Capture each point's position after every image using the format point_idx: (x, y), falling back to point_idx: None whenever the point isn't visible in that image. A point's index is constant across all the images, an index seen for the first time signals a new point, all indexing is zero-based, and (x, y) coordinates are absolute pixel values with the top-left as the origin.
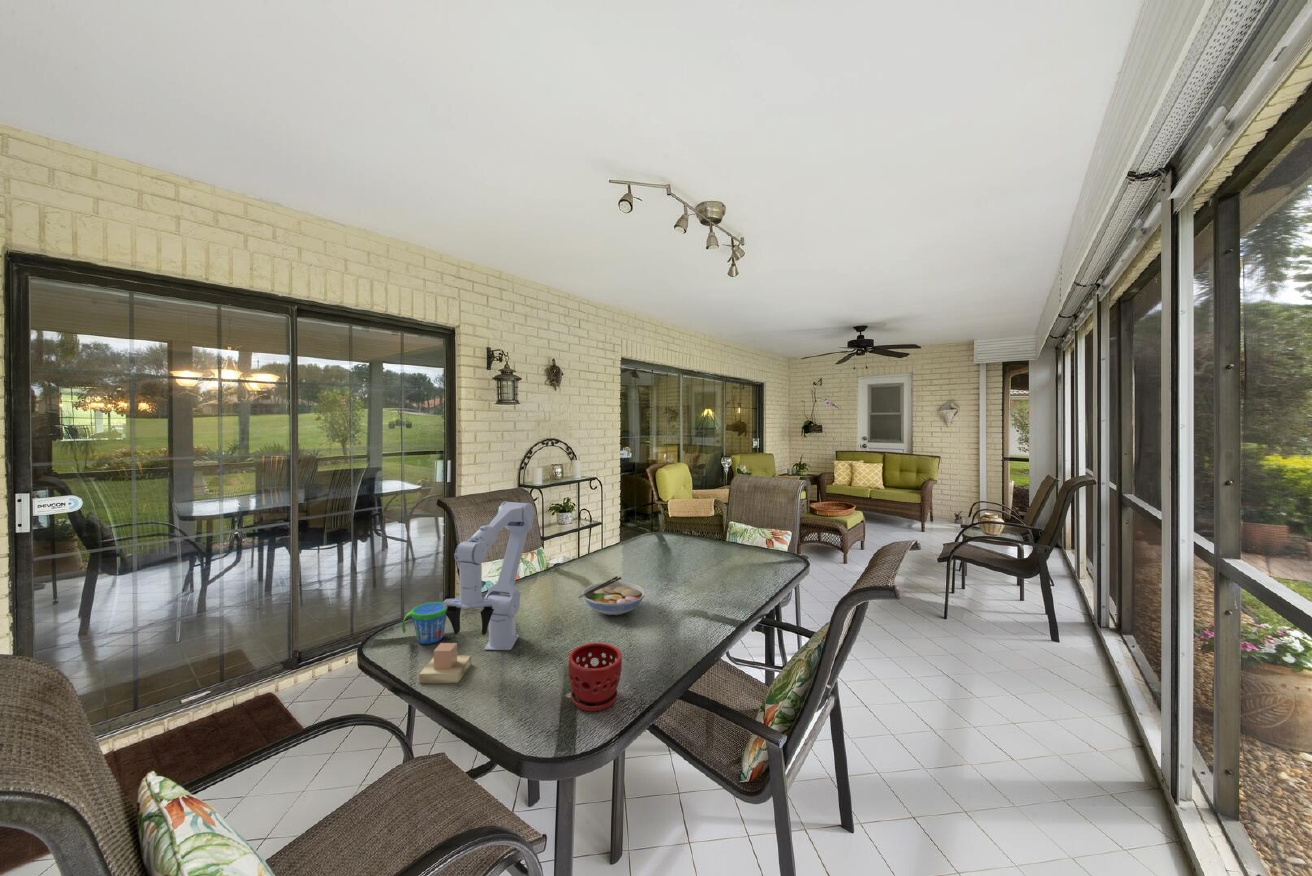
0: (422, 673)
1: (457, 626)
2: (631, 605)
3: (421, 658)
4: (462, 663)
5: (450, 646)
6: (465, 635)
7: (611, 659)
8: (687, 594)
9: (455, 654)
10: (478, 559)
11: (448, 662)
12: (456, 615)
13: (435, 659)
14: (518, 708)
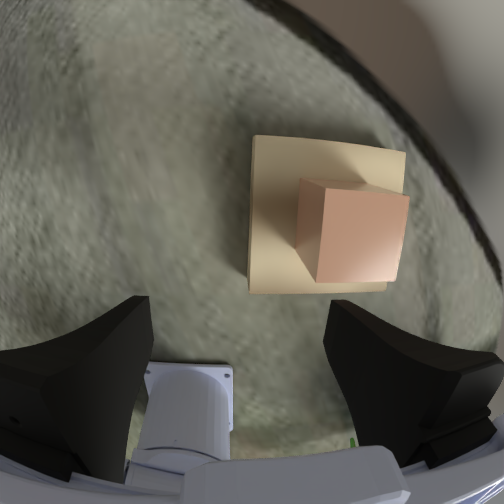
0: (395, 152)
1: (346, 342)
2: None
3: (414, 307)
4: (264, 226)
5: (341, 244)
6: (316, 425)
7: None
8: None
9: (305, 242)
10: None
11: (317, 181)
12: (390, 398)
13: (380, 188)
14: (30, 31)
